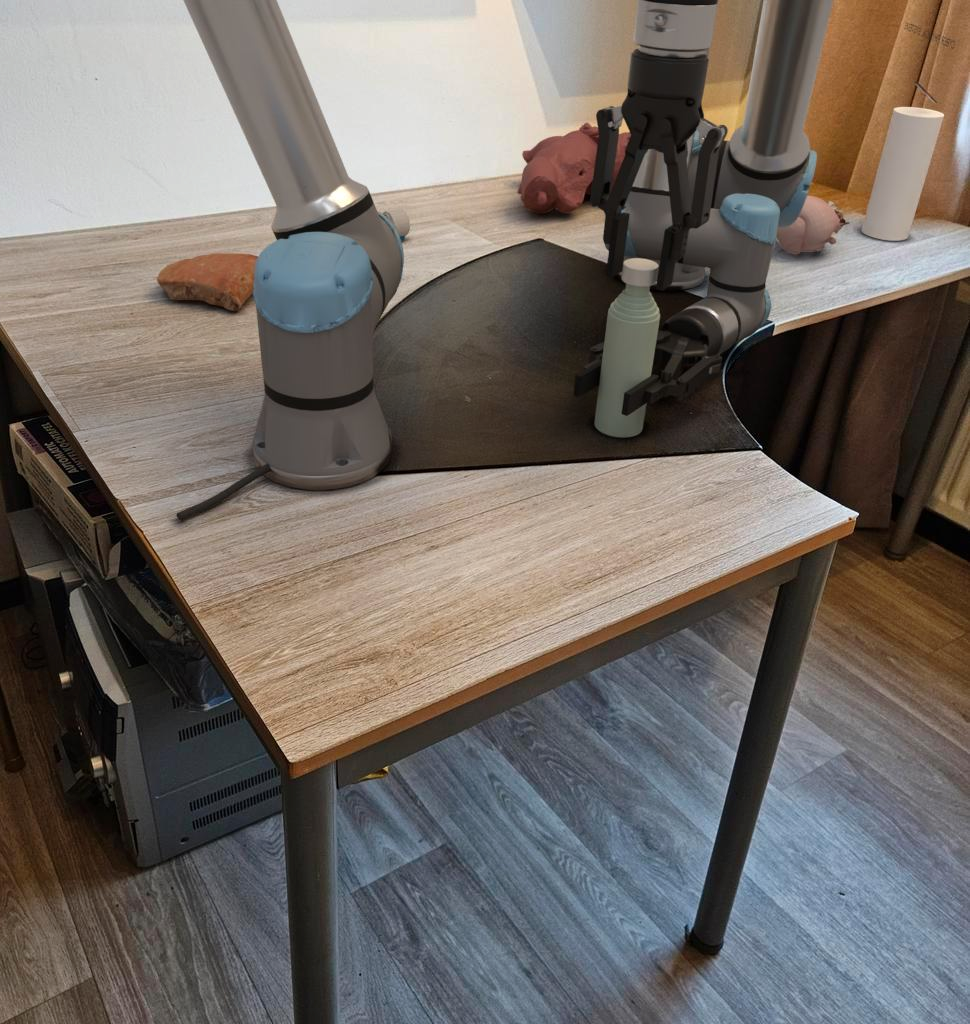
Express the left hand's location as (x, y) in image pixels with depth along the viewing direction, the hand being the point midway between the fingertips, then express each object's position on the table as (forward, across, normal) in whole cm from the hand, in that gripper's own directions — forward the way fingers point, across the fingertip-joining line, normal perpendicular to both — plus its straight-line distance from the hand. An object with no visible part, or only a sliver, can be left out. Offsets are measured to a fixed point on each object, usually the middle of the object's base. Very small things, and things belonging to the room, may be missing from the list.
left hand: (638, 279), depth 106 cm
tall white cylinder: (+18, +8, +100) cm, 102 cm away
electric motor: (+18, -62, +37) cm, 74 cm away
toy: (+18, -2, +80) cm, 82 cm away
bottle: (+18, 0, 0) cm, 18 cm away
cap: (-2, 0, 0) cm, 2 cm away
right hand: (+12, -1, -5) cm, 13 cm away
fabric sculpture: (+18, -47, +78) cm, 93 cm away
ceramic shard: (+18, -69, +1) cm, 71 cm away
